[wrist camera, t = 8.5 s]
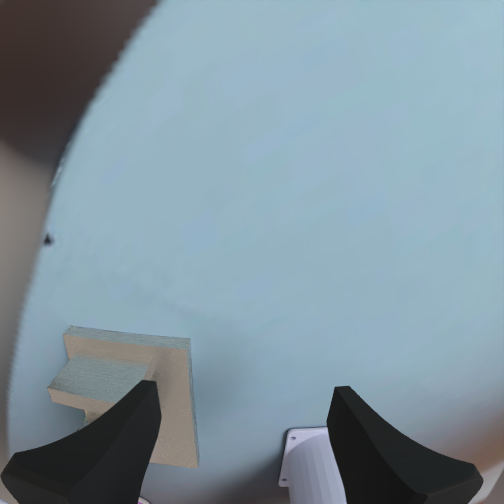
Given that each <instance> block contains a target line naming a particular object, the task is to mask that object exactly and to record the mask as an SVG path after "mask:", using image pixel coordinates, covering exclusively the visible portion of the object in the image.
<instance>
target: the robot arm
mask: <svg viewBox="0 0 504 504" xmlns="http://www.w3.org/2000/svg"><path fill="white" fill-rule="evenodd" d="M161 419H162V414H161V408H160V402H159V396H158V390H157V383H156V381H150V380H141V381H140V382H139V383H138V384H137V385H136V386H134V387H133V388H132V389H131V390H130V391H129V392H128V393H127V394H126V395H125V396H124V397H123V398H122V399H120V400H119V401H118V402H117V403H116V404H115V405H114V406H112V407H111V408H110V409H109V410H108V411H106V412H105V413H104V414H102V415H101V416H100V417H99V418H97V419H96V420H94V421H93V422H92V423H90V424H89V425H87V426H85V427H84V428H82V429H80V430H79V431H77V432H75V433H73V434H71V435H69V436H67V437H65V438H62V439H60V440H58V441H56V442H53V443H50V444H48V445H45V446H42V447H38V448H35V449H31V450H27V451H22V452H17V453H15V454H14V455H13V456H12V458H11V459H10V461H9V462H8V464H7V465H6V467H5V468H4V470H3V472H2V473H1V479H2V482H3V484H4V485H5V487H6V488H7V489H8V491H9V492H10V493H11V494H12V495H13V497H14V498H15V499H16V500H17V502H18V503H19V504H138V501H139V496H140V491H141V486H142V482H143V478H144V475H145V472H146V469H147V467H148V464H149V461H150V458H151V455H152V452H153V450H154V447H155V444H156V441H157V438H158V434H159V429H160V424H161ZM326 422H327V427H322V428H304V429H291V430H289V431H288V433H287V439H286V445H285V451H284V456H283V462H282V467H281V472H280V477H279V486H281V487H289V496H290V504H468V503H469V502H470V500H471V499H472V498H473V497H474V496H475V495H476V494H477V492H478V491H479V490H480V488H481V486H482V484H483V478H482V476H481V475H480V473H479V471H478V470H477V468H476V467H475V465H474V464H472V463H468V462H464V461H460V460H457V459H453V458H450V457H447V456H445V455H442V454H439V453H437V452H435V451H432V450H430V449H428V448H426V447H424V446H422V445H420V444H419V443H417V442H415V441H413V440H412V439H410V438H409V437H407V436H405V435H404V434H402V433H401V432H400V431H398V430H397V429H395V428H394V427H393V426H392V425H390V424H389V423H388V422H387V421H385V420H384V419H383V418H382V417H381V416H379V415H378V414H377V413H376V412H375V411H374V410H373V409H372V408H371V407H370V406H369V405H368V404H367V403H366V402H365V401H364V400H363V399H362V398H361V397H360V396H359V395H358V394H357V393H356V392H355V391H354V390H353V389H352V388H351V387H350V386H339V387H335V388H334V393H333V397H332V401H331V405H330V409H329V413H328V417H327V421H326ZM291 437H293V438H291ZM0 504H8V503H7V502H5V501H3V500H2V499H0Z"/></svg>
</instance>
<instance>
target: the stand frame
mask: <svg viewBox="0 0 504 504" xmlns="http://www.w3.org/2000/svg"><path fill="white" fill-rule="evenodd" d="M63 336H64V341H65V345H66V349H67V353H68V357H69V362H68V363H67V364H66V365H65V367H64V368H63V369H62V370H61V371H60V373H59V374H58V375H57V376H56V378H55V379H54V380H53V381H52V383H51V384H50V385H49V386H48V391H49V394H50V396H51V399H52V402H55V403H59V404H63V405H67V406H70V407H74V408H78V409H82V410H84V411H85V414H86V417H87V420H88V422H89V424H90V423H92V422H93V421H94V420H96V419H97V418H99V417H100V416H101V415H102V414H104V413H105V412H106V411H108V410H109V409H110V408H111V407H112V406H114V405H115V404H116V403H117V402H118V401H119V400H120V399H122V398H123V397H124V396H125V395H126V394H127V393H128V392H129V391H130V390H131V389H132V388H133V387H134V386H136V385H137V384H138V383H139V382H140V381H141V380H150V381H156V383H157V390H158V396H159V402H160V408H161V414H162V419H161V424H160V429H159V434H158V438H157V441H156V444H155V447H154V450H153V452H152V455H151V458H150V461H149V462H151V463H158V464H165V465H172V466H180V467H189V468H198V464H199V458H200V457H199V448H198V438H197V428H196V417H195V406H194V394H193V380H192V365H191V349H190V339H188V338H175V337H163V336H151V335H141V334H132V333H123V332H114V331H106V330H98V329H91V328H84V327H77V326H71V327H70V328H69V329H68V330H67V331H66V332H65V333H64V334H63Z"/></svg>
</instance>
